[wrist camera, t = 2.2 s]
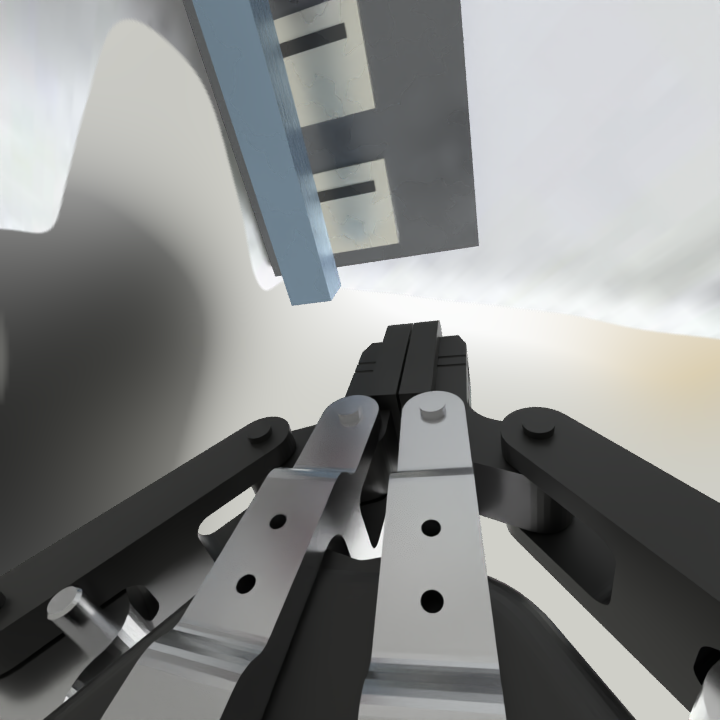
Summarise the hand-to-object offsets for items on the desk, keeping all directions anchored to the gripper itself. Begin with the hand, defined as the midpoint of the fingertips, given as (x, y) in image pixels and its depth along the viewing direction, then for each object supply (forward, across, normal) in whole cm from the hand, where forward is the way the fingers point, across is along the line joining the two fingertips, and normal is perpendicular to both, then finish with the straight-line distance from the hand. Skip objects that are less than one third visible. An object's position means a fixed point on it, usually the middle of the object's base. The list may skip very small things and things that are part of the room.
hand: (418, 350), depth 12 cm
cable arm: (+14, +8, -7) cm, 17 cm away
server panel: (+20, +6, -6) cm, 22 cm away
